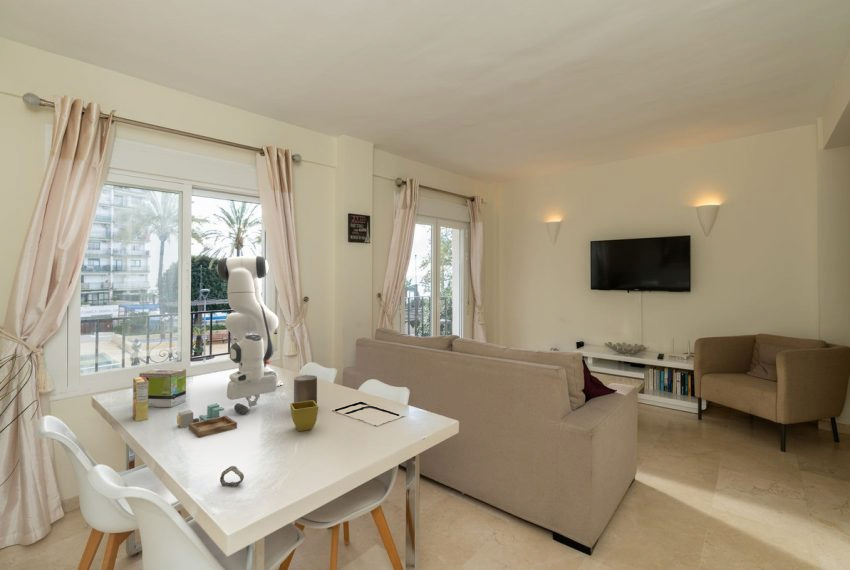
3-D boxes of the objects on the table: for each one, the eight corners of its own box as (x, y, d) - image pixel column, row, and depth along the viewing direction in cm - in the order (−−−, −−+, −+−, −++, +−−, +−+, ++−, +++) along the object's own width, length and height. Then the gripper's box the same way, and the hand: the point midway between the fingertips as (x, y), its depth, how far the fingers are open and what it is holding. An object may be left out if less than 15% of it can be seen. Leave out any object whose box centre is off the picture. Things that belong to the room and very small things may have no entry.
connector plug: (197, 421, 156) (197, 408, 156) (200, 423, 153) (200, 410, 153) (176, 425, 151) (176, 412, 151) (179, 428, 148) (179, 415, 148)
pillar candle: (321, 409, 172) (321, 374, 172) (300, 414, 165) (301, 378, 165) (309, 404, 179) (309, 371, 179) (289, 409, 172) (289, 374, 172)
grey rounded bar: (232, 410, 170) (233, 403, 170) (240, 408, 172) (240, 401, 172) (242, 416, 163) (242, 408, 163) (249, 414, 165) (250, 407, 165)
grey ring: (224, 481, 110) (224, 463, 110) (246, 482, 109) (246, 464, 109) (216, 488, 106) (217, 469, 106) (238, 489, 106) (239, 470, 106)
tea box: (186, 401, 181) (187, 368, 181) (170, 408, 171) (170, 373, 171) (156, 399, 183) (156, 367, 182) (138, 406, 173) (138, 372, 172)
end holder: (225, 420, 157) (225, 415, 157) (236, 428, 149) (236, 422, 149) (188, 429, 147) (188, 423, 147) (198, 437, 140) (198, 431, 140)
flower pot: (293, 434, 144) (293, 409, 144) (289, 426, 151) (289, 402, 151) (318, 430, 148) (318, 406, 148) (313, 423, 155) (313, 400, 155)
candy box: (132, 415, 161) (132, 377, 161) (144, 413, 164) (145, 376, 164) (135, 421, 155) (135, 382, 154) (148, 419, 157) (149, 380, 157)
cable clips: (216, 414, 164) (216, 403, 164) (224, 419, 158) (224, 408, 158) (199, 417, 159) (199, 406, 159) (206, 423, 154) (206, 411, 154)
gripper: (272, 368, 180) (272, 399, 180) (225, 376, 165) (225, 409, 165) (279, 370, 176) (279, 402, 176) (231, 378, 161) (231, 412, 161)
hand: (252, 405), depth 171 cm, fingers closed
